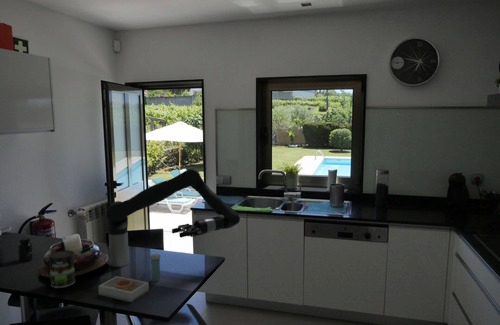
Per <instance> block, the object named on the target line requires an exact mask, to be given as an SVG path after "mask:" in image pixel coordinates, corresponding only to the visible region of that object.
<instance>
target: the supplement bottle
mask: <svg viewBox="0 0 500 325" xmlns="http://www.w3.org/2000/svg"><path fill="white" fill-rule="evenodd" d="M17 255H18V256H17V257H18V262H19V263H29V262H31V261H33V259H34V251H33V243H32V242H31V237H22V238H20V239H19V244H18V245H17Z"/></svg>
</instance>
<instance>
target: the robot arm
mask: <svg viewBox="0 0 500 325" xmlns="http://www.w3.org/2000/svg"><path fill="white" fill-rule="evenodd" d="M189 187H190V188H192V189H193V190H195V191H196V192H197V193H198V194H199V195H200V197H201V198H203V200H204V201H205V203H206V204H207V205H208V206H209V207H210V208H211V209H212V210H213V212H215V214H216V215H218V216H213V217H207V218H203V219H198V220H195V221H194V222H193V224H189V223H185V224H181V225H180V224H179V225H177V226H178V227H175V228H171V233H172V234H177V233H178V234H179V238H184V237H191V238H193V237H196V236H197V237H198V236H201V235H206V234H209V233H213V232H215V231H220V230H224V229H225V230H226V229H230V228H233V227H234V226H236V225H238V224H239V223H240V221H241V217H240V215H239V214H238V212H237V211H236V210H235V209H233V208H232V207H231V206H229V205H228V204H226V203H225V202H224V201H223V200H222V199H221V198H220V196H218V195H217V193H215V192H214V191H213V190H212V189H211V188H210V186H208V185H207V183H206V182H205V181H204V180H203V178H202V177H201V174H200V172H199V171H198V170H196V169H195V168H188V169H186V170H185V171H183V172H181V173H180V174H178V175H176V176H175V177H172V178H170V179H167V180H164V181H161V182H158V183H155V184H153V185H151V186H149V187H147V188H145V189H143V190H141V191H140V192H139V193H137V194H135V195H134V196H132V197H130V198H129V199H126V200H124V201H119V200H117V201H114V202H112V203H111V204H110V205H109V206H108V208H107V210H106V217H107V219H108V220H109V222H108V223H109V224H108V241H109V244H108V245H109V246H108V247H107V256H108V257H107V258H108V259H107V260H108V265H110V266H111V267H112V268H120V267H125V266H127V265H128V264H129V237H128V236H129V235H128V233H129V232H128V227H129V226H128V223H129V222H128V221H129V220H128V219H129V216H130V215H132V214H134V213H135V212H138V211H141V210H143V209H145V208H147V207H148V208H149V207H151V206H153V205H156V204H158V203H160V202H162V201H164V200H166V199H167V198H169V197H171V196H172V195H174V194H175V193H177V192H180V191H181V190H184V189H186V188H189Z"/></svg>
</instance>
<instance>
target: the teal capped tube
mask: <svg viewBox="0 0 500 325" xmlns="http://www.w3.org/2000/svg"><path fill="white" fill-rule="evenodd" d="M160 259H161V254H159V253H155V254H150V255H149V260H150V273H151V274H150V275H151V277H150V279H151V282H152V283H157V282H160V281H161V263H160V262H161V261H160Z"/></svg>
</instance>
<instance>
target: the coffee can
mask: <svg viewBox="0 0 500 325" xmlns="http://www.w3.org/2000/svg"><path fill="white" fill-rule="evenodd" d="M48 258H49V275H50V287H51V286H52V288H53V287H54V288H53V289H62V288H67V287H70V286H72V285H73V284H75V283H76V271H75V268H74V259H75V252H74V251H73V250H59V251H54V252H52V253H51V254H49V256H48Z"/></svg>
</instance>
